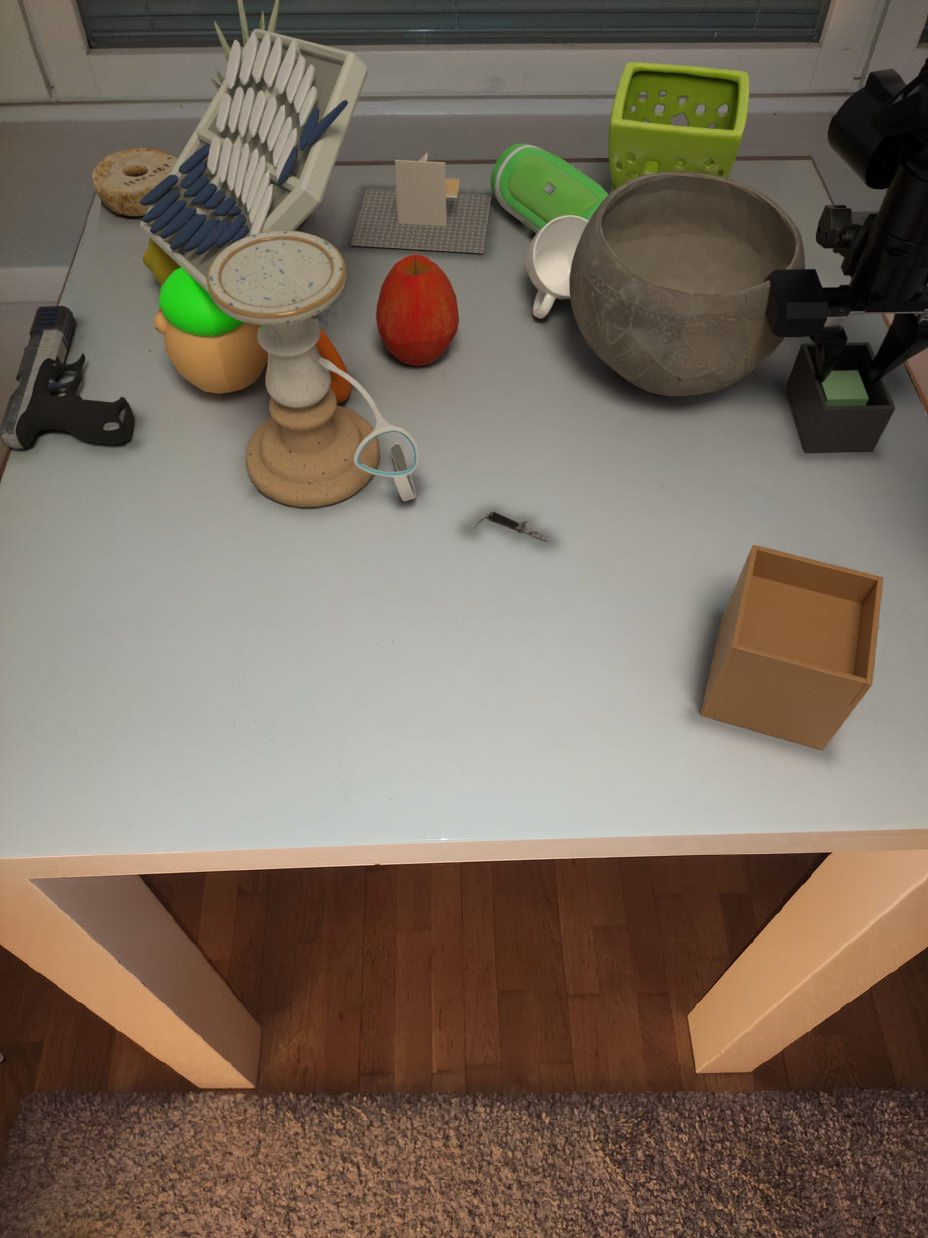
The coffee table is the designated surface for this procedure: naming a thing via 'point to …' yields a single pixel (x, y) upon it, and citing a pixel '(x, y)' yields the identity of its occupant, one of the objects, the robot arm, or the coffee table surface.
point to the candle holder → (294, 366)
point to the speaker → (542, 187)
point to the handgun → (37, 380)
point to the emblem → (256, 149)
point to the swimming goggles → (403, 471)
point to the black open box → (838, 423)
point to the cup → (553, 260)
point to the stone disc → (130, 178)
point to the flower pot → (670, 145)
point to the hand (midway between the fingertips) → (845, 378)
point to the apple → (417, 311)
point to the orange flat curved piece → (330, 353)
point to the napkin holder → (423, 212)
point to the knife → (512, 524)
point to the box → (794, 647)
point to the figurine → (206, 338)
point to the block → (844, 389)
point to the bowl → (681, 280)
